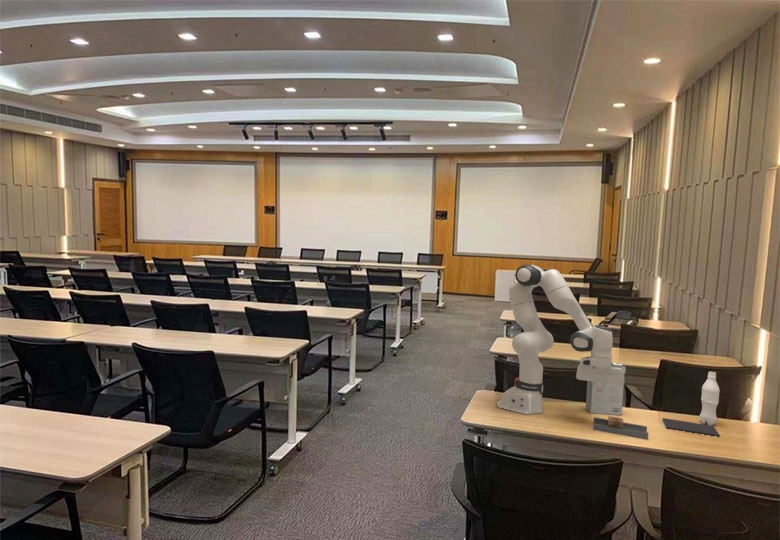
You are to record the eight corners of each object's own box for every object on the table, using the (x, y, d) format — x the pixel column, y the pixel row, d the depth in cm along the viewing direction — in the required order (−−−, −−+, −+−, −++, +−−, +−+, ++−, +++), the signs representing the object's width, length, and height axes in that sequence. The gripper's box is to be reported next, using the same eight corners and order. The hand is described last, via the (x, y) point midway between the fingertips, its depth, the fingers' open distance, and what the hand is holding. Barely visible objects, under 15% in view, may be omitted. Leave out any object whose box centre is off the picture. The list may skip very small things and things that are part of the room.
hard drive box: (616, 410, 252) (619, 371, 251) (622, 415, 244) (625, 375, 243) (584, 408, 254) (587, 369, 252) (589, 413, 246) (592, 373, 245)
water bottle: (696, 423, 239) (701, 371, 237) (701, 419, 244) (705, 369, 242) (714, 427, 234) (719, 375, 232) (718, 424, 239) (723, 372, 237)
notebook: (665, 429, 230) (719, 438, 222) (665, 426, 230) (720, 435, 222) (661, 420, 241) (713, 429, 234) (662, 417, 241) (713, 425, 234)
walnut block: (607, 431, 224) (608, 420, 223) (607, 426, 229) (608, 416, 229) (622, 433, 221) (623, 422, 221) (622, 429, 227) (622, 418, 226)
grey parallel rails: (593, 429, 224) (593, 424, 224) (593, 422, 233) (594, 417, 233) (647, 439, 215) (648, 433, 215) (646, 431, 224) (646, 426, 224)
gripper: (625, 363, 225) (624, 393, 226) (577, 357, 233) (575, 386, 234) (626, 366, 219) (624, 397, 220) (576, 360, 227) (575, 390, 228)
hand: (599, 391), depth 227 cm, fingers closed
